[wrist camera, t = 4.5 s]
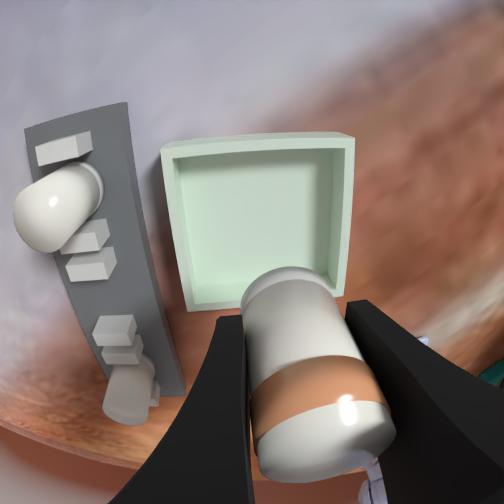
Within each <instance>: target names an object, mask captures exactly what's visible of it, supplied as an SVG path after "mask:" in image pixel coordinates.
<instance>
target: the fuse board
mask: <svg viewBox="0 0 504 504" xmlns="http://www.w3.org/2000/svg"><path fill="white" fill-rule="evenodd" d="M24 132H25V138H26V145H27V151H28V156H29V162H30V167H31V172H32V177H33V181H34V183H35V182H37V181H38V180H40V179H42V178H44V177H45V176H47V175H49V174H51V173H52V172H54V171H56V170H58V169H60V168H61V167H62V166H64V165H66V164H68V163H70V162H73V161H78V160H79V161H86V162H88V163H90V164H92V165H93V166H94V167H96V168H97V170H98V171H99V172H100V174H101V176H102V178H103V180H104V185H105V195H104V199H103V201H102V203H101V205H100V206H99V208H98V209H97V210H96V211H95V212H94V213H93V214H92V215H90V216H89V217H88V218H87V220H86V221H85V222H84V223H83V224H82V225H81V226H80V227H79V228H78V229H77V230H76V231H75V232H74V234H73V235H72V236H71V237H70V238H69V239H68V240H67V241H66V243H65V244H64V245H63V246H62V247H61V248H60V249H58V250H57V251H54V252H53V254H54V257H55V260H56V263H57V266H58V269H59V272H60V274H61V277H62V280H63V282H64V285H65V288H66V290H67V293H68V295H69V298H70V300H71V303H72V305H73V308H74V310H75V313H76V315H77V317H78V320H79V322H80V324H81V326H82V329H83V331H84V333H85V335H86V337H87V340H88V342H89V344H90V346H91V348H92V350H93V352H94V354H95V356H96V358H97V360H98V362H99V364H100V366H101V368H102V370H103V372H104V374H105V376H106V377H107V379H108V381H109V380H110V376H111V373H112V369H113V366H114V364H140V359H141V355H142V352H143V353H145V354H146V355H148V356H149V357H150V358H151V359H152V360H153V361H154V363H155V366H156V368H155V375H154V379H153V385H152V391H151V398H150V404H149V406H158V404H159V396H186V382H185V379H184V375H183V372H182V369H181V366H180V363H179V359H178V356H177V353H176V349H175V346H174V342H173V339H172V335H171V332H170V328H169V324H168V321H167V317H166V313H165V309H164V306H163V302H162V298H161V294H160V290H159V286H158V281H157V277H156V273H155V269H154V264H153V260H152V255H151V251H150V246H149V241H148V236H147V231H146V226H145V221H144V216H143V211H142V205H141V200H140V194H139V188H138V182H137V176H136V169H135V163H134V156H133V149H132V141H131V133H130V125H129V116H128V107H127V102H124V103H117V104H112V105H108V106H103V107H99V108H95V109H91V110H87V111H83V112H79V113H75V114H71V115H68V116H64V117H61V118H57V119H54V120H51V121H47V122H44V123H41V124H38V125H35V126H32V127H29V128H26V129H24Z"/></svg>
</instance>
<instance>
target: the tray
mask: <svg viewBox="0 0 504 504" xmlns="http://www.w3.org/2000/svg"><path fill="white" fill-rule="evenodd" d="M354 151H355V138H353V137H351V136H348V135H345V134H342V133H339V132H283V133H260V134H244V135H230V136H218V137H208V138H198V139H189V140H180V141H173V142H168V143H167V144H166V145H164V146H163V147H162V148H161V149H160V153H161V161H162V169H163V176H164V184H165V191H166V197H167V204H168V210H169V217H170V223H171V229H172V235H173V241H174V246H175V252H176V257H177V263H178V268H179V273H180V278H181V283H182V288H183V293H184V298H185V303H186V308H187V312H191V311H204V310H217V309H229V308H240V303H241V299H242V296H243V294H244V292H245V290H246V289H247V288H248V286H249V285H250V284H251V283H252V282H253V281H254V280H255V279H256V278H258V277H259V276H261V275H262V274H264V273H266V272H268V271H270V270H273V269H276V268H280V267H287V266H297V267H303V268H307V269H310V270H312V271H314V272H316V273H317V274H319V275H320V276H321V277H322V278H323V279H324V280H325V281H326V283H327V285H328V287H329V288H330V290H331V292H332V294H333V296H334V297H339V296H343V293H344V285H345V277H346V268H347V258H348V248H349V237H350V226H351V212H352V197H353V178H354Z"/></svg>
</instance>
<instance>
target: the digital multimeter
mask: <svg viewBox="0 0 504 504" xmlns="http://www.w3.org/2000/svg"><path fill="white" fill-rule="evenodd" d="M479 379H481V380H483V381H485V382H487V383H490V384H492V385H494V386H496V387H498V388H500V389H503V390H504V359H503V360H501V361H500V362H498V363H496V364H495V365H493V366H492V367H490V368H489V369H487V370H486V371H484V372H482V373H481V374H480V377H479Z"/></svg>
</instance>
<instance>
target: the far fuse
mask: <svg viewBox="0 0 504 504" xmlns="http://www.w3.org/2000/svg"><path fill="white" fill-rule="evenodd" d="M155 368H156V366H155V363H154V361H153V360H152V359H151V358H150V357H149V356H148V355H146V354H145V353H143V352H142V355H141V359H140V364H114V366H113V369H112V373H111V376H110V380H109V383H108V387H107V391H106V394H105V398H104V402H103V406H102V409H103V412H104V413H105V414H106V415H107V416H108V417H109V418H110V419H112V420H114V421H116V422H118V423H121V424H124V425H131V426H137V425H142V424H144V423H145V422H146V421H147V418H148V411H149V404H150V398H151V391H152V385H153V379H154V375H155Z"/></svg>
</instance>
